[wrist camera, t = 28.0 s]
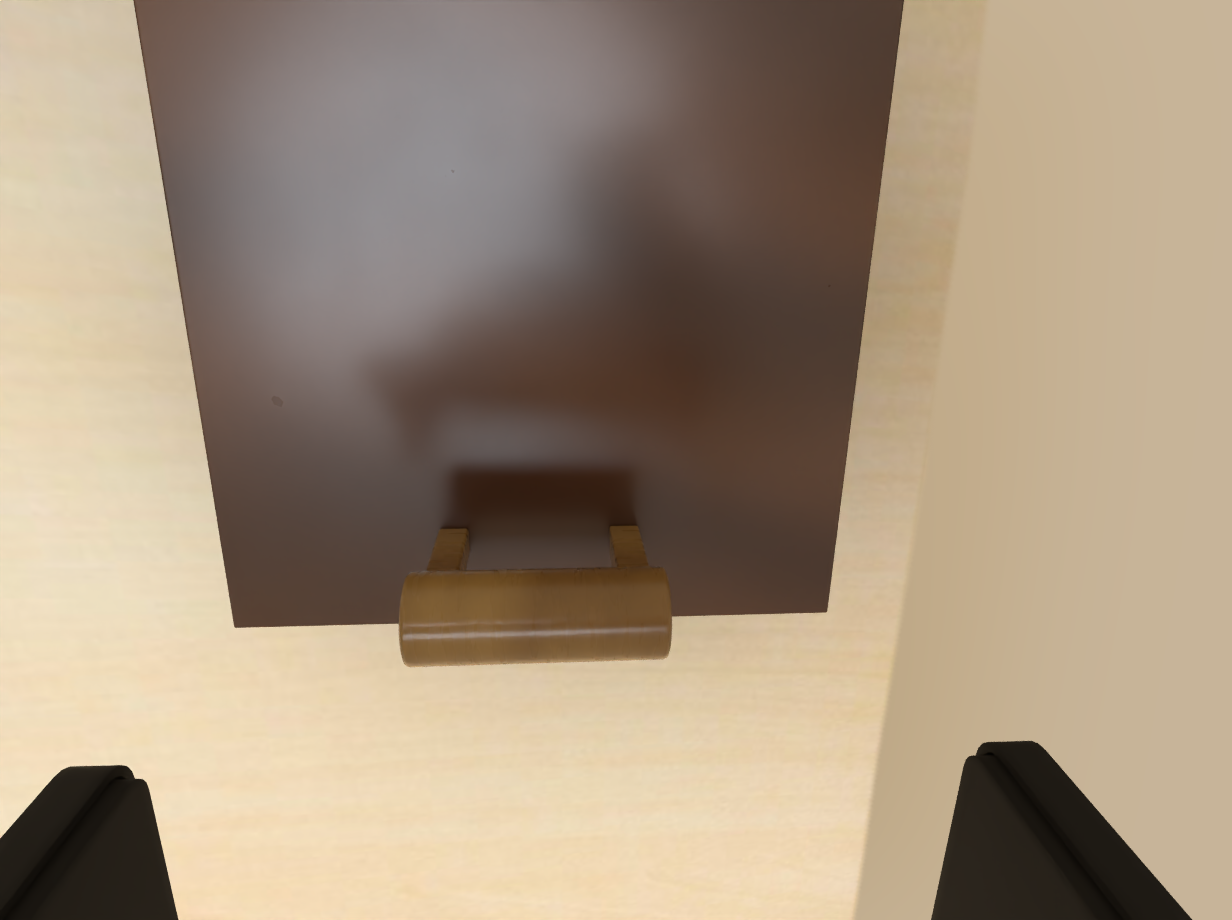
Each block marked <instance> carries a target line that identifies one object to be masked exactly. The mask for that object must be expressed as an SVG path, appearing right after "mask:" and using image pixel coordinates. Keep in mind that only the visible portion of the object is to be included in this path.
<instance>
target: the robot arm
mask: <svg viewBox="0 0 1232 920" xmlns="http://www.w3.org/2000/svg"><path fill="white" fill-rule="evenodd" d="M0 920H178V916H177V912H176V908H175V903H174V899H173V894H172V890H171V885H170V881H169V876H168V872H167V867H166V863H165V859H164V854H163V850H162V845H161V841H160V836H159V832H158V827H157V823H156V818H155V814H154V810H153V805H152V801H151V796H150V792H149V788H148V785H147V783H146V782H145V781H144V780H143V779H135V778H134V775H133V773H132V771H131V770H130V769H129V768H128V767H127V766H122V765H114V766H76V767H68V768H66V769H63V770H61V771H60V772H59V773H58V774H57V775H56V776H55V777H54V778H53V779H52V780H51V781H50V782H49V783H48V785H47V786H46V787H45V788H44V789H43V790H42V791H41V793H40V794H39V795H38V796H37V797H36V798H35V799H34V801H33V802H32V803H31V804H30V805H29V806H28V807H27V809H26V810H25V811H24V812H23V813H22V814H21V815H20V817H19V818H18V819H17V820H16V821H15V822H14V823H13V825H12V826H11V827H10V828H9V829H8V830H7V832H6V833H5V834H4V835H3V836H2V837H1V838H0ZM931 920H1192V919H1191V918H1190V917H1189V915H1188V914H1187V913H1186V912H1185V911H1184V910H1183V909H1182V907H1181V906H1180V905H1179V904H1178V903H1177V902H1176V900H1175V899H1174V898H1173V897H1172V896H1171V895H1170V894H1169V892H1168V891H1167V890H1166V889H1165V888H1164V887H1163V885H1162V884H1161V883H1160V882H1159V881H1158V880H1157V879H1156V877H1155V876H1154V875H1153V874H1152V873H1151V872H1150V870H1149V869H1148V868H1147V867H1146V866H1145V865H1144V864H1143V862H1142V861H1141V860H1140V859H1139V858H1138V857H1137V855H1136V854H1135V853H1134V852H1133V851H1132V850H1131V848H1130V847H1129V846H1128V845H1127V844H1126V843H1125V841H1124V840H1123V839H1122V838H1121V837H1120V836H1119V835H1118V833H1117V832H1116V831H1115V830H1114V829H1113V828H1112V827H1111V825H1110V824H1109V823H1108V822H1107V821H1106V820H1105V818H1104V817H1103V816H1102V815H1101V814H1100V813H1099V811H1098V810H1097V809H1096V808H1095V807H1094V806H1093V804H1092V803H1091V802H1090V801H1089V800H1088V799H1087V798H1086V796H1085V795H1084V794H1083V793H1082V792H1081V791H1080V790H1079V788H1078V787H1077V786H1076V785H1075V784H1074V782H1073V781H1072V780H1071V779H1070V778H1069V777H1068V776H1067V774H1066V773H1065V772H1064V771H1063V770H1062V769H1061V768H1060V766H1059V765H1058V764H1057V763H1056V762H1055V761H1054V759H1053V758H1052V757H1051V756H1050V755H1049V754H1048V753H1047V751H1046V750H1045V749H1044V748H1043V747H1042V746H1040V745H1039V744H1038V743H1035V742H1033V741H1014V742H986V743H983V744H982V745H981V746H980V747H979V748H978V750H977V753H976V756H969V757H968V758H967V759H966V761H965V764H964V767H963V772H962V776H961V781H960V786H959V791H958V795H957V800H956V805H955V810H954V815H953V819H952V824H951V829H950V833H949V838H948V843H947V847H946V852H945V857H944V862H943V867H942V871H941V876H940V881H939V885H938V890H937V895H936V900H935V904H934V909H933V914H932V918H931Z"/></svg>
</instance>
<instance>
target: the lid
mask: <svg viewBox="0 0 1232 920" xmlns="http://www.w3.org/2000/svg"><path fill="white" fill-rule="evenodd" d="M903 3H904V0H134V6H135V12H136V18H137V25H138V31H139V37H140V43H141V49H142V56H143V62H144V68H145V74H146V81H147V87H148V93H149V99H150V105H151V112H152V118H153V124H154V130H155V137H156V143H157V149H158V155H159V161H160V168H161V174H162V180H163V186H164V193H165V199H166V205H167V211H168V217H169V224H170V230H171V236H172V242H173V249H174V255H175V261H176V267H177V273H178V280H179V286H180V292H181V298H182V304H183V311H184V317H185V323H186V329H187V336H188V342H189V348H190V354H191V360H192V367H193V373H194V379H195V385H196V392H197V398H198V404H199V410H200V416H201V423H202V429H203V435H204V441H205V448H206V454H207V460H208V466H209V472H210V479H211V485H212V491H213V497H214V503H215V510H216V516H217V522H218V528H219V535H220V541H221V547H222V553H223V559H224V566H225V572H226V578H227V584H228V591H229V597H230V603H231V609H232V615H233V622H234V627H235V628H243V627H282V626H320V625H359V624H398V623H399V642H400V651H401V655H402V659H403V662H404V664H405V665H406V666H408V667H428V666H461V665H493V664H526V663H558V662H590V661H623V660H655V659H665V658H667V657H668V654H669V651H670V647H671V638H672V616H706V615H745V614H784V613H822V612H827V608H828V601H829V593H830V585H831V577H832V569H833V561H834V553H835V545H836V537H837V529H838V521H839V513H840V505H841V497H842V489H843V481H844V473H845V465H846V457H847V449H848V441H849V433H850V425H851V417H852V409H853V401H854V393H855V385H856V378H857V370H858V362H859V354H860V346H861V338H862V330H863V322H864V314H865V306H866V298H867V290H868V282H869V274H870V266H871V258H872V250H873V242H874V234H875V226H876V218H877V210H878V202H879V194H880V186H881V178H882V170H883V162H884V155H885V147H886V139H887V131H888V123H889V115H890V107H891V99H892V91H893V83H894V75H895V67H896V59H897V51H898V43H899V35H900V27H901V19H902V11H903Z"/></svg>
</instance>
